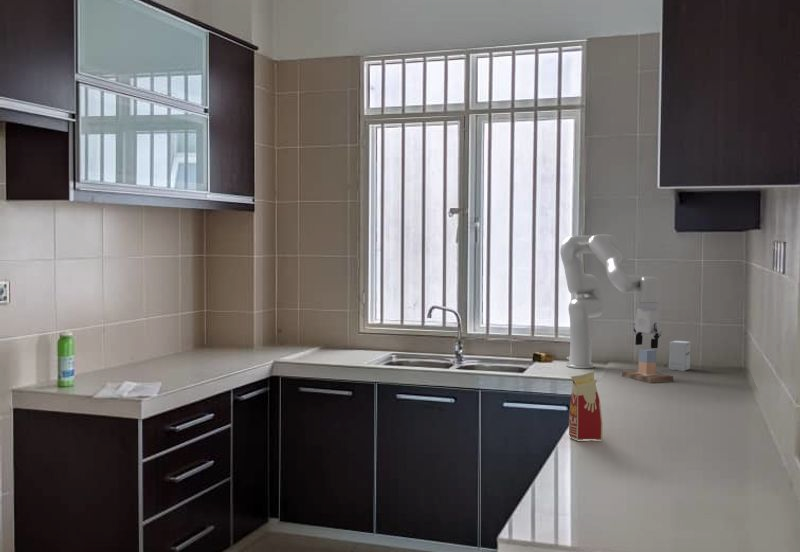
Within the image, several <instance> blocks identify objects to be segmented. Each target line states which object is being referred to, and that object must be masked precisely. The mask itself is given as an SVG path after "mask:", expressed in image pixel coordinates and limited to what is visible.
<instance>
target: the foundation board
mask: <svg viewBox="0 0 800 552" xmlns="http://www.w3.org/2000/svg"><path fill="white" fill-rule="evenodd" d="M624 376H626V377H625V378H628V377H630V378H629V379H632V378H634V379H633V380H636V379H637V381H640V380H641V381H640V382H644V381H645V383H648V382H649V383H650V384H654V382H656V383H665V382H674V376H673V375H671V374H670V375H669V374H665V373H660V372H657V371H656V374H649V375H645V374H641V373H638V369H635V370H622V371H621V377H624Z"/></svg>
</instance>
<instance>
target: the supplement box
mask: <svg viewBox="0 0 800 552" xmlns="http://www.w3.org/2000/svg"><path fill="white" fill-rule="evenodd" d="M668 352H669V354H668V355H669V357H668V358H669V359H668V369H669V370H671V371H672V370H673V371H680V372H686V371H687V370H690V369H691V341H689V340H688V341H686V340H685V341H684V340H673V341H669V351H668Z"/></svg>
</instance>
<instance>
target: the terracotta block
mask: <svg viewBox="0 0 800 552" xmlns="http://www.w3.org/2000/svg"><path fill="white" fill-rule="evenodd" d="M637 362H638V366H637V367H638V369H637V370H638V373H641V374H645V375H649V374H656V372H657V371H656V370H657V361H656V362H652V363H645V362H640V361H639V360H638V361H637Z"/></svg>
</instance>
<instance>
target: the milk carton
mask: <svg viewBox="0 0 800 552" xmlns="http://www.w3.org/2000/svg"><path fill="white" fill-rule="evenodd" d="M570 378H571V380H572V389H571V395H570V402H569V415H568V416H569V417H568V435H570V437H571V438H574V439H577V440H583V439H596V440H602V441H603V425H604V424H603V416H602V415H603V414H602V407H601V405H602V404H601V400H600V399H601V398H600V396H599V392H598V388H597V385H596V380H595V370H591V371H590V372H586V373H583V374H579V375H572V376H570Z"/></svg>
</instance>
